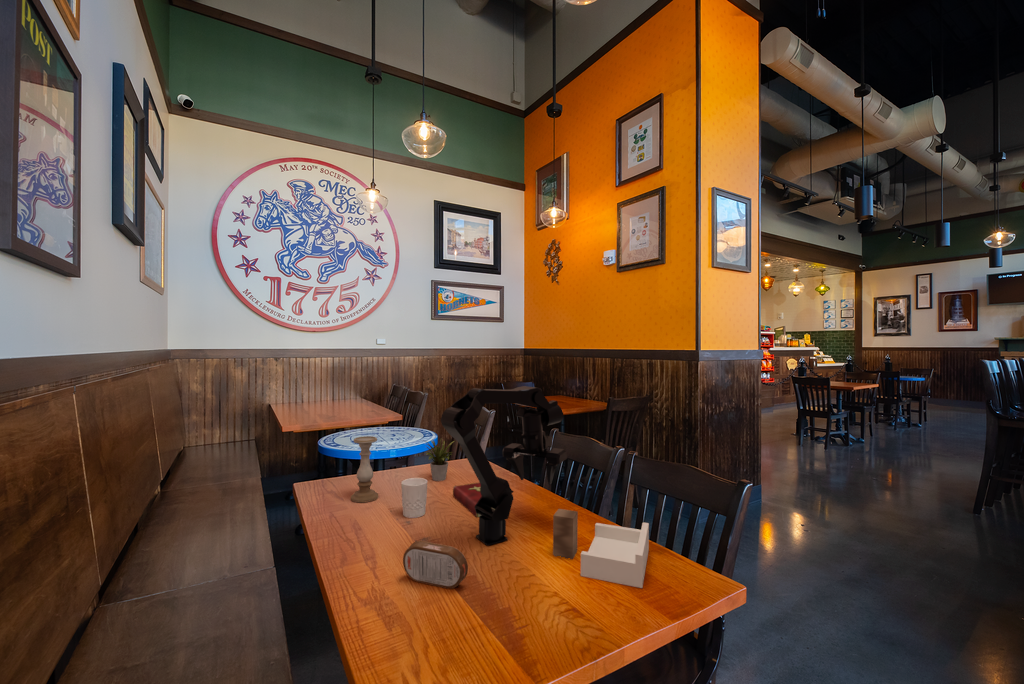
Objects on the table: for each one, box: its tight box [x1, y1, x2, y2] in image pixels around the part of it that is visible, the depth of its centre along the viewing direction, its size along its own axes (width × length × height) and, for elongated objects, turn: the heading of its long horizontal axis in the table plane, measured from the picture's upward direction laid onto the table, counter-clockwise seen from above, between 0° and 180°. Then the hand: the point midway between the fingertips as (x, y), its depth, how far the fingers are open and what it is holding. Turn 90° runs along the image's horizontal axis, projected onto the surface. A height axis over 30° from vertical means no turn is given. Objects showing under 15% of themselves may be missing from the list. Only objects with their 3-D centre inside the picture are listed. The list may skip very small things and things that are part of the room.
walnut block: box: [552, 508, 579, 560], centre depth 111 cm, size 5×5×10 cm
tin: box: [402, 540, 469, 589], centre depth 97 cm, size 15×3×8 cm, turn 71°
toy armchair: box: [580, 522, 650, 589], centre depth 107 cm, size 14×19×7 cm
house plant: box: [421, 439, 456, 482], centre depth 171 cm, size 14×14×16 cm
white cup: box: [400, 477, 428, 519], centre depth 136 cm, size 8×8×10 cm
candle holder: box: [350, 435, 379, 504], centre depth 149 cm, size 9×9×20 cm
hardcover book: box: [452, 481, 495, 519], centre depth 146 cm, size 12×21×4 cm, turn 28°
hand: (536, 481), depth 129 cm, fingers open, 9 cm apart
